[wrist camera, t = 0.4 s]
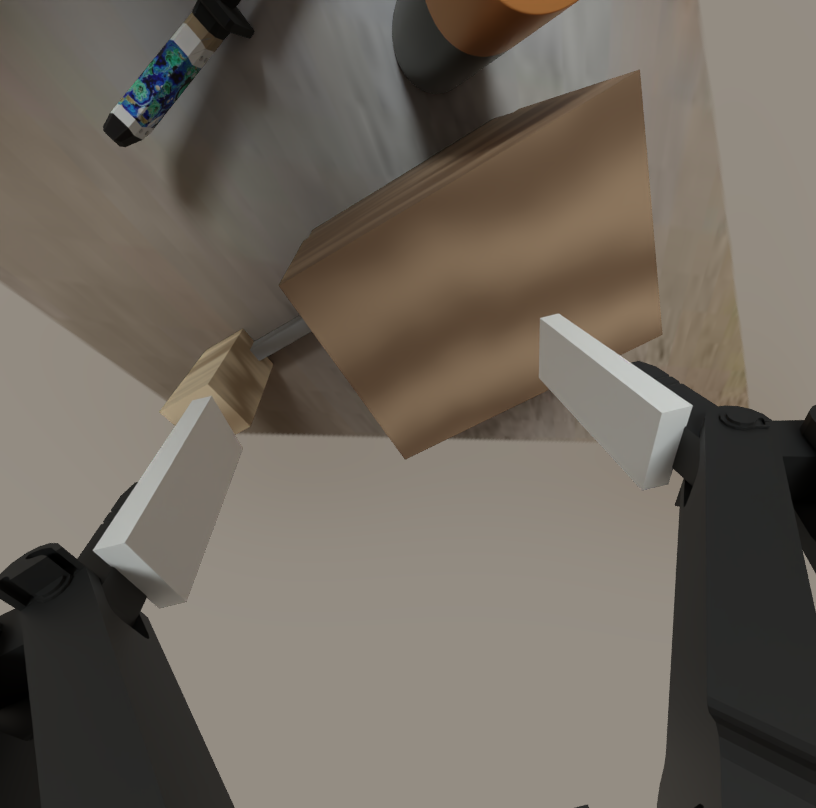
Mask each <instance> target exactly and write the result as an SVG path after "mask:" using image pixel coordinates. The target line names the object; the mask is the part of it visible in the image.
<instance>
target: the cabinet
mask: <svg viewBox="0 0 816 808" xmlns="http://www.w3.org/2000/svg"><path fill="white" fill-rule="evenodd" d="M279 287H280V288H281V289H282V291H283V292H284V294H285V295H286V296H287V298H288V299H289V300H290V302H291V303H292V305H293V306H294V307H295V309H296V310H297V312H298V313H299V314H300V316H301V317H302V318H303V320H304V321H305V323H306V324H307V325H308V327H309V328H310V329H311V331H312V332H313V334H314V335H315V336H316V338H317V339H318V340H319V342H320V343H321V345H322V346H323V347H324V349H325V350H326V351H327V353H328V354H329V356H330V357H331V358H332V360H333V361H334V362H335V364H336V365H337V367H338V368H339V369H340V371H341V372H342V373H343V375H344V376H345V378H346V379H347V380H348V382H349V383H350V384H351V386H352V387H353V389H354V390H355V391H356V393H357V394H358V395H359V397H360V398H361V400H362V401H363V402H364V404H365V405H366V406H367V408H368V409H369V411H370V412H371V413H372V415H373V416H374V417H375V419H376V420H377V422H378V423H379V424H380V426H381V427H382V428H383V430H384V431H385V433H386V434H387V435H388V437H389V438H390V440H391V441H392V442H393V443H394V445H395V446H396V448H397V449H398V451H399V452H400V453H401V454H402V456H403V457H404V459H407V458H409V457H411V456H413V455H415V454H418V453H420V452H422V451H424V450H426V449H428V448H429V447H432V446H434V445H436V444H438V443H440V442H442V441H444V440H446V439H448V438H451V437H453V436H455V435H457V434H459V433H461V432H463V431H465V430H467V429H469V428H471V427H473V426H475V425H477V424H479V423H481V422H484V421H486V420H488V419H490V418H492V417H494V416H496V415H498V414H500V413H502V412H504V411H506V410H508V409H510V408H512V407H514V406H516V405H519V404H521V403H523V402H525V401H527V400H529V399H531V398H533V397H535V396H537V395H539V394H541V393H543V392H545V391H547V390H549V388H548V387H547V386H546V385H545V384H544V383H543V382H542V381H541V380H540V378H539V340H540V318H542V317H546V316H550V315H555V314H560V315H562V316H563V317H565V318H566V319H568V320H569V321H570V322H572V323H573V324H575V325H576V326H578V327H579V328H581V329H582V330H584V331H585V332H586V333H588V334H589V335H591V336H592V337H594V338H595V339H597V340H598V341H600V342H601V343H602V344H604V345H605V346H607V347H608V348H610V349H611V350H613V351H614V352H616V353H617V354H618V355H622V354H624V353H626V352H628V351H630V350H632V349H634V348H636V347H638V346H640V345H642V344H644V343H646V342H648V341H650V340H652V339H654V338H657V337H659V336H661V335H662V324H661V312H660V301H659V289H658V277H657V266H656V254H655V242H654V230H653V219H652V207H651V195H650V183H649V172H648V160H647V148H646V136H645V125H644V113H643V101H642V89H641V78H640V70H637V71H634V72H631V73H628V74H625V75H622V76H619V77H616V78H612V79H609V80H606V81H603V82H600V83H597V84H594V85H591V86H588V87H585V88H582V89H579V90H576V91H573V92H569V93H566V94H563V95H560V96H557V97H554V98H551V99H548V100H545V101H542V102H539V103H536V104H533V105H530V106H527V107H523V108H520V109H518V110H517V111H515V112H513V113H510V114H507V115H504V116H501V117H497V118H494V119H492V120H491V121H489V122H488V123H486V124H484V125H483V126H481V127H479V128H478V129H476V130H475V131H473V132H471V133H470V134H468V135H466V136H465V137H463V138H462V139H460V140H458V141H457V142H455V143H453V144H452V145H450V146H449V147H447V148H445V149H444V150H442V151H440V152H439V153H437V154H436V155H434V156H432V157H431V158H429V159H427V160H426V161H424V162H423V163H421V164H419V165H418V166H416V167H414V168H413V169H411V170H409V171H408V172H406V173H405V174H403V175H401V176H400V177H398V178H396V179H395V180H393V181H392V182H390V183H388V184H387V185H385V186H383V187H382V188H380V189H379V190H377V191H375V192H374V193H372V194H370V195H369V196H367V197H366V198H364V199H362V200H361V201H359V202H357V203H356V204H354V205H353V206H351V207H349V208H348V209H346V210H344V211H343V212H341V213H340V214H338V215H336V216H335V217H333V218H331V219H330V220H328V221H326V222H325V223H323V224H322V225H320V226H318V227H317V228H315V229H313V230H312V232H311V234H310V236H309V238H307V239H306V240H304V241H303V243H302V245H301V246H300V248H299V250H298V252H297V254H296V255H295V257H294V259H293V261H292V263H291V264H290V266H289V268H288V270H287V271H286V273H285V275H284V277H283V279H282V280H281V282H280V284H279Z"/></svg>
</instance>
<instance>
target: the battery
mask: <svg viewBox="0 0 816 808" xmlns="http://www.w3.org/2000/svg"><path fill="white" fill-rule="evenodd" d="M577 1H578V0H397V2H396V6H395V10H394V15H393V22H392V38H393V46H394V51H395V55H396V58H397V61H398V63H399V65H400V67H401V69H402V71H403V73H404V74H405V76H406V77H407V78H408V79H409V81H410V82H411V83H412V84H414V85H415V86H416V87H417V88H419V89H421V90H423V91H425V92H429V93H444V92H447V91H450V90H452V89H454V88H455V87H457V86H458V85H460V84H461V83H463V82H464V81H466V80H467V79H468V78H470V77H471V76H473V75H474V74H476V73H477V72H478V71H480V70H481V69H483V68H484V67H485V66H487V65H488V64H490V63H491V62H492V61H494V60H495V59H497V58H498V57H500V56H501V55H502V54H504V53H505V52H507V51H508V50H509V49H511V48H512V47H514V46H515V45H517V44H518V43H519V42H521V41H522V40H524V39H525V38H526V37H528V36H529V35H531V34H532V33H533V32H535V31H536V30H538V29H539V28H541V27H542V26H543V25H545V24H546V23H548V22H549V21H550V20H552V19H553V18H555V17H556V16H557V15H559V14H560V13H562V12H563V11H565V10H566V9H567V8H569V7H570V6H572V5H573V4H574V3H576V2H577Z"/></svg>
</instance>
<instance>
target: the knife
mask: <svg viewBox="0 0 816 808" xmlns="http://www.w3.org/2000/svg"><path fill="white" fill-rule="evenodd" d="M240 1H241V0H197V2H196V5H195V7H194V9H193V11H192V13H191V14H190V15H189V16H188V18H187V19H186V20H185V21H184V23H183V24H182V25H181V26H180V28H179V29H178V30H177V31H176V32H175V34H174V35H173V36H172V37H171V39H170V40H169V41H168V42H167V43H166V45H165V46H164V47H163V48H162V50H161V51H160V52H159V53H158V55H157V56H156V57H155V58H154V59H153V61H152V62H151V63H150V64H149V66H148V67H147V68H146V69H145V71H144V72H143V73H142V74H141V75H140V77H139V78H138V79H137V80H136V82H135V83H134V84H133V85H132V87H131V88H130V89H129V90H128V91H127V93H126V94H125V95H124V96H123V98H122V99H121V100H120V101H119V103H118V104H117V105H116V106H115V108H114V109H113V110H112V111H111V113H110V114H109V116H108V118H107V120H106V122H105V124H104V125H103V130H104V132H105V133H106V134H107V135H108V136H109V137H110V138H111V139H112V140H113V141H114V142H116V143H117V144H118V145H119V146H121V147H127V146H129V145H131V144H134V143H136V142H138V141H141V140H143V139H144V138H145V137H146V136H148V135H149V134H150V133H151V132H152V130H153V129H154V128H155V127H156V125H157V124H158V123H159V122H160V120H161V119H162V118H163V117H164V115H165V114H166V113H167V111H168V110H169V109H170V108H171V106H172V105H173V104H174V103H175V101H176V100H177V99H178V98H179V96H180V95H181V94H182V93H183V91H184V90H185V89H186V87H187V86H188V85H189V84H190V82H191V81H192V80H193V79H194V77H195V76H196V75H197V74H198V72H199V71H200V70H201V69H202V67H203V66H204V65H205V63H206V62H207V61H208V60H209V58H210V57H211V56H212V55H213V53H214V52H215V51H216V50H217V48H218V47H219V46H220V45H221V43H222V42H223V41H224V40H225V38H226V37H227V36H228V35H229V34H230V33H234V34H237V35H240V36H244V37H247V38H251V36H252V35H253V33H254V32H255V31H254V29H253V28H252V27H251V25H250V24H249V23H248V21H247V20H246V19H245V18H244V16H243V15H242V14H241V12H240V11H239V10H238V9H237V7H236V6H237V5H238V3H239V2H240Z"/></svg>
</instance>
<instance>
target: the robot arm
mask: <svg viewBox="0 0 816 808" xmlns="http://www.w3.org/2000/svg"><path fill="white" fill-rule="evenodd" d="M539 378H540V380H541V381H542V382H543V383H544V384H545V385H546V386H547V387H548V388H549V389H550V391H551V392H552V393H553V394H554V395H555V396H556V397H557V398H558V399H559V400H560V401H561V403H562V404H563V405H564V406H565V407H566V408H567V409H568V410H569V411H570V412H571V413H572V415H573V416H574V417H575V418H576V419H577V420H578V421H579V422H580V423H581V424H582V425H583V427H584V428H585V429H586V430H587V431H588V432H589V433H590V434H591V435H592V436H593V438H594V439H595V440H596V441H597V442H598V443H599V444H600V445H601V446H602V447H603V448H604V449H605V450H606V452H607V453H608V454H609V455H610V456H611V457H612V458H613V459H614V460H615V462H616V463H617V464H618V465H619V466H620V467H621V468H622V469H623V470H624V471H625V473H626V474H627V475H628V476H629V477H630V478H631V479H632V480H633V481H634V482H635V483H636V485H637V486H638V487H639V488H640V489H641V490H647V489H650V488H655V487H659V486H663V485H667V484H668V483H669V480H670V476H671V474H672V470H673V469H674V470H675V471H676V472H678V473H679V474H680V475H681V476H682V477H683V478H684V480H683V483H682V485H681V488H680V491H679V494H678V497H677V500H676V503H675V506H680V512H679V530H678V548H677V565H676V584H675V602H674V620H673V638H672V655H671V673H670V691H669V710H668V727H667V745H666V758H665V765H664V769H663V774H662V778H661V782H660V787H659V794H658V802H657V808H816V611H815V607H814V602H813V597H812V593H811V588H810V583H809V579H808V574H807V570H806V565H805V560H804V556H803V551H804V553H805V555H806V557H807V559H808V560H809V562H810V564H811V566H812V568H813V569H814V571H815V573H816V405H815V406H813V407H812V408H811V409H810V411H809V413H808V415H807V416H806V418H805V420H794V421H793V420H792V421H791V420H789V421H772V420H771V419H769V418H768V417H766V416H765V415H764V414H762V413H759V412H757V411H754V410H752V409H748V408H744V407H739V406H719V407H718V406H716V405H715V404H713V403H712V402H710V401H709V400H707V399H706V398H704V397H702V396H701V395H699V394H698V393H696V392H695V391H693V390H692V389H690V388H688V387H687V386H685V385H684V384H680V383H679V381H678V380H676V379H674V378H673V377H669V375H668V374H667V373H665V372H664V371H662V370H660V369H659V368H657V367H656V366H653V365H650V364H647V363H643V362H640V361H636V362H632V363H630V362H629V361H627V360H626V359H624V358H623V357H621V356H620V355H618V354H617V353H616V352H614V351H613V350H611V349H610V348H608V347H607V346H605V345H604V344H602V343H601V342H600V341H598V340H597V339H595V338H594V337H592V336H591V335H589V334H588V333H586V332H585V331H584V330H582V329H581V328H579V327H578V326H576V325H575V324H573V323H572V322H570V321H569V320H568V319H566V318H565V317H563V316H562V315H560V314H555V315H550V316H546V317H542V318H540V340H539ZM242 450H243V448H242V446H241V444H240V443H239V441H238V439H237V437H236V436H235V434H234V432H233V431H232V429H231V427H230V426H229V424H228V422H227V421H226V419H225V417H224V416H223V414H222V412H221V411H220V409H219V407H218V405H217V404H216V402H215V400H214V399H213V397H212V396H209V397H204V398H200V399H196V400H192V402H191V403H190V405H189V406H188V408H187V409H186V411H185V412H184V414H183V415H182V417H181V418H180V420H179V421H178V423H177V424H176V426H175V427H174V429H173V430H172V432H171V433H170V435H169V436H168V438H167V439H166V441H165V442H164V444H163V445H162V447H161V449H160V450H159V451H158V453H157V454H156V456H155V457H154V459H153V460H152V462H151V463H150V465H149V467H148V468H147V470H146V471H145V473H144V474H143V475H142V477H141V479H140V480H139V482H136V483H134V484H133V485H132V486H131V487H130V488H129V489H128V490H127V491H126V492H125V493H123V494H122V495H121V496H120V498H119V499H118V501H117V502H116V504H115V505H114V507H113V508H112V509H111V512H110V513H109V514H108V515H107V517H106V518H105V520H104V521H103V522H104V524H101V525H100V527H99V528H98V530H97V531H96V533H95V534H94V535H93V537H92V538H91V540H90V541H89V543H88V544H87V546H86V547H85V549H84V550H83V551H82V553H81V554H80V556H79V557H78V559H76V558H75V557H74V556H73V555H71V554H70V553H69V552H68V551H67V550H65V549H64V548H63V547H62V546H60V545H59V544H58V543H49V544H46V545H43V546H40V547H37V548H35V549H33V550H31V551H30V552H28V553H26V554H24V555H23V556H22V557H20V558H19V559H17V560H16V561H15V562H13V563H12V564H10V565H9V566H8V567H7V568H6V569H5V570H4V571H3V572H2V573H1V574H0V599H1V600H3V601H5V602H6V603H8V604H9V605H11V606H13V607H14V608H15V609H13V610H11V611H9V612H7V613H5V614H3V615H1V616H0V808H234V805H233V803H232V801H231V799H230V797H229V794H228V792H227V790H226V788H225V786H224V783H223V781H222V779H221V777H220V775H219V772H218V771H217V768H216V766H215V764H214V762H213V759H212V757H211V755H210V753H209V751H208V748H207V746H206V744H205V742H204V740H203V737H202V735H201V733H200V731H199V729H198V726H197V724H196V722H195V720H194V718H193V716H192V713H191V711H190V709H189V707H188V705H187V702H186V700H185V698H184V696H183V694H182V692H181V689H180V687H179V685H178V683H177V680H176V678H175V676H174V674H173V672H172V670H171V667H170V665H169V663H168V661H167V659H166V656H165V654H164V652H163V650H162V648H161V645H160V643H159V641H158V639H157V637H156V634H155V632H154V630H153V628H152V626H151V624H150V621H149V619H148V617H146V616H145V615H144V614H143V613H142V612H141V609H142V606H143V604H144V602H145V600H146V598H148V599H149V600H150V601H151V602H152V603H154V604H155V605H156V606H157V607H158V608H164V607H168V606H172V605H176V604H180V603H184V602H187V599H188V596H189V594H190V591H191V588H192V585H193V583H194V580H195V577H196V575H197V572H198V569H199V566H200V564H201V561H202V558H203V555H204V553H205V550H206V547H207V544H208V542H209V539H210V537H211V534H212V531H213V529H214V526H215V523H216V520H217V518H218V515H219V512H220V509H221V507H222V504H223V501H224V499H225V496H226V493H227V490H228V488H229V485H230V482H231V480H232V477H233V474H234V472H235V469H236V466H237V464H238V461H239V458H240V455H241V453H242ZM802 550H803V551H802ZM577 808H589V807H588V805H584V806H580V807H577Z"/></svg>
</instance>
